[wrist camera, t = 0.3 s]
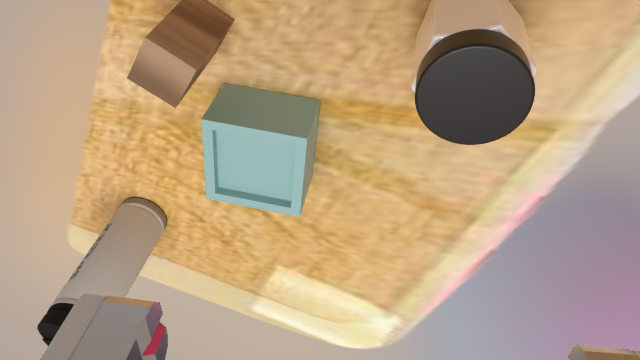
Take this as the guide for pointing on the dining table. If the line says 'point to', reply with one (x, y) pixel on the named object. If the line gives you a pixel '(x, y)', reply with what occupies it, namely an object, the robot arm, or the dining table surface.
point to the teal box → (259, 148)
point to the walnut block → (179, 49)
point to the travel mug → (110, 260)
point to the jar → (473, 70)
